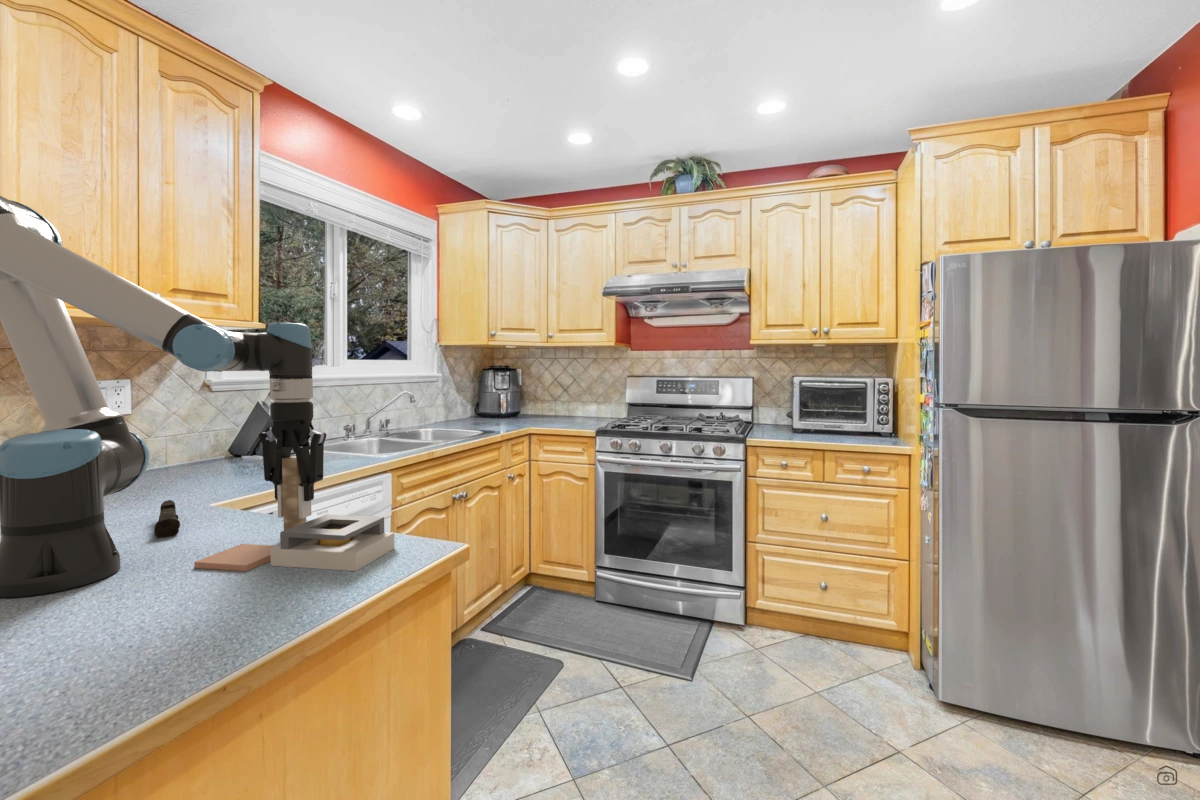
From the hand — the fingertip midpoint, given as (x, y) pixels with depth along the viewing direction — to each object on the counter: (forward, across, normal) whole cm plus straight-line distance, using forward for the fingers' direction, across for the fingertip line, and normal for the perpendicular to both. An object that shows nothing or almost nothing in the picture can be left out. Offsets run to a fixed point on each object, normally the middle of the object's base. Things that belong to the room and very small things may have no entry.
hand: (294, 515), depth 110 cm
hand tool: (+5, -32, +2) cm, 33 cm away
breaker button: (+3, +16, -10) cm, 19 cm away
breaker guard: (+4, +16, -10) cm, 19 cm away
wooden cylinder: (+4, 0, 0) cm, 4 cm away
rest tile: (+4, +1, -14) cm, 15 cm away
